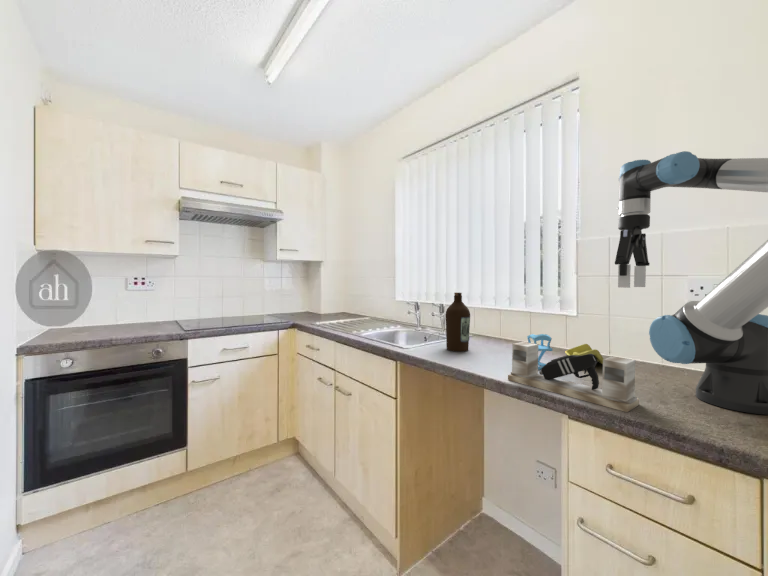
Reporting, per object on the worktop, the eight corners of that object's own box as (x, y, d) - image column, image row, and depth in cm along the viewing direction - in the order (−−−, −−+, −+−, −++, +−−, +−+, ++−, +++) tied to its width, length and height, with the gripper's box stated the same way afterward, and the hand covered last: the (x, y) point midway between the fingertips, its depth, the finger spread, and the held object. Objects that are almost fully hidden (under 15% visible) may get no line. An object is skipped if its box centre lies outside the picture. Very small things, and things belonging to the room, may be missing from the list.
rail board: (639, 404, 83) (640, 360, 82) (627, 412, 78) (628, 365, 78) (522, 375, 107) (522, 341, 107) (507, 379, 103) (508, 343, 102)
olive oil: (440, 349, 146) (440, 292, 146) (453, 346, 154) (454, 291, 153) (461, 353, 139) (462, 293, 138) (474, 349, 147) (475, 292, 146)
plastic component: (564, 351, 134) (590, 341, 131) (573, 368, 133) (599, 359, 129) (570, 357, 116) (600, 347, 113) (580, 378, 114) (611, 368, 111)
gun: (554, 397, 97) (539, 363, 100) (611, 384, 85) (592, 347, 89) (549, 399, 95) (534, 365, 99) (606, 387, 84) (587, 348, 87)
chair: (543, 363, 123) (543, 331, 122) (555, 369, 114) (555, 334, 114) (522, 363, 123) (523, 331, 122) (533, 369, 114) (533, 334, 114)
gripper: (633, 221, 109) (631, 286, 110) (603, 212, 94) (601, 287, 95) (662, 218, 103) (660, 287, 104) (635, 207, 88) (632, 288, 89)
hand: (632, 287), depth 99 cm, fingers open, 13 cm apart
